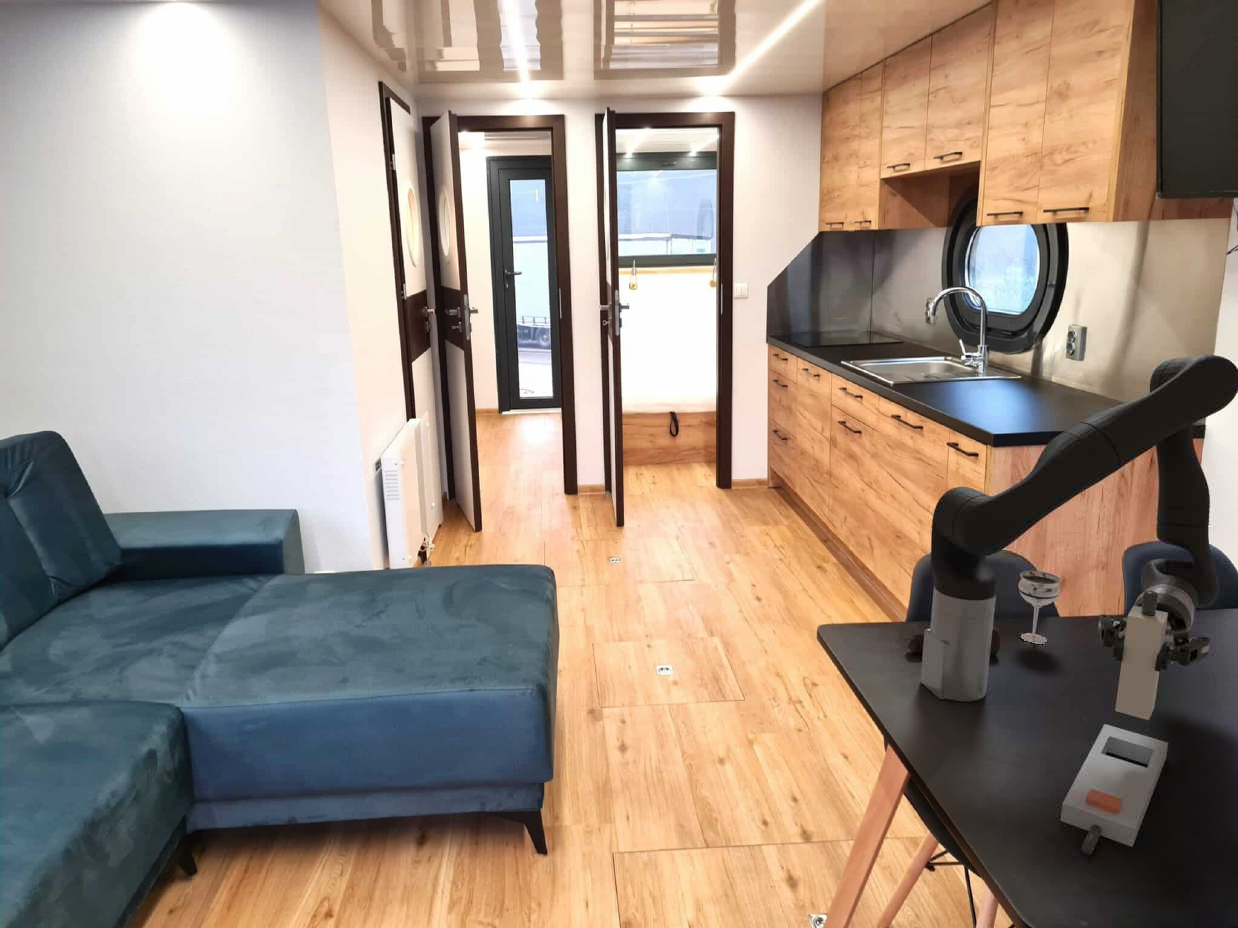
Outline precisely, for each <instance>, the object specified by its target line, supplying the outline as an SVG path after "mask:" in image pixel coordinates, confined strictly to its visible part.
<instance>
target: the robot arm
mask: <svg viewBox="0 0 1238 928" xmlns="http://www.w3.org/2000/svg"><path fill="white" fill-rule="evenodd" d="M1149 381H1150V382H1149V393H1147V394H1146V395H1143V396H1141V397H1139V398H1136V399H1133V400H1131V401H1128V402H1125V403H1122V404H1119V405H1117V406H1114V407H1111V408H1109V409H1106V410H1103V411H1100V412H1098V413H1095V414H1093V415H1091V416H1088V417H1087V418H1085V419H1083V420H1081V421H1079V422H1078V423H1076V424H1074V425H1073V426H1071V427H1069V428H1068V429H1066V430H1065V431H1063V432H1061V433H1060V434H1058V435H1057V436H1055V437H1053V439H1051V440H1050V441H1049V442H1048V443H1047V445H1046V446H1045V447H1044V449H1043V450H1042V451H1041V453H1040V455H1039V457H1038V459H1037V460H1036V462H1035V465H1034V466H1033V468H1032V470H1031V471H1030V472H1029V474H1027V476H1025V477H1024V478H1023V479H1022V480H1020V481H1019V482H1017V483H1015V484H1013V485H1012V486H1011V487H1009V488H1008V489H1005V490H1003V491H1001V492H1000V493H997V494H995V495H992V496H991V495H989V494H986V493H984V492H982V491H980V490H977V489H974V488H972V487H968V486H956V487H952V488H951V489H949V490H946V492H944V493H943V494H942V495H941V497H940V498H939V500H938V501H937V503H936V505H935V508H934V509H933V510H934V511H933V515H932V520H931V521H932V522H931V535H930V536H931V537H930V539H931V540H930V567H931V570H932V573H933V577H934V578H933V579H934V580H933V583H934V584H933V594H932V596H933V597H932V604H931V605H932V607H931V615H930V616H931V617H930V628H926V629H925V630H924V633H923V634H924V646H923V653H922V657H921V658H922V660H921V671H920V672H921V673H920V683H921V684H922V685H924V686H925V688H927V689H928V691H930V692H931V693H932V694H933V695H934V696H935V697H937V698H938V699H939V700H951V701H954V702H956V701H957V702H975V701H979V700H982V699H983V698H984V697H985V696H986V694H987V687H988V676H989V666H990V658H991V657H990V656H991V655H990V648H991V638H992V628H993V625H994V619H995V618H994V615H995V608H996V607H995V606H996V600H997V599H996V598H997V588H998V578H997V575H996V573H995V571H994V570H993V569H992V566H990V564H989V562H988V560H987V558H986V557H988V556H993V555H996V554H997V553H1000V552H1001V551H1003V550H1004V549H1005V548H1007V547H1008V546H1010V545H1012V543H1014V542H1015V541H1016V540H1017V539H1019V538H1020V537H1021V536H1023V535H1025V533H1027V532H1028V531H1029V530H1031V528H1033V527H1034V526H1035V525H1037V524H1038V523H1039V522H1040V521H1042V520H1043V519H1044V518H1046V517H1047V516H1048V515H1050V514H1051V513H1052V512H1054V511H1055V510H1057V509H1058V508H1060V507H1062V506H1063V505H1065V504H1067V503H1068V502H1069V501H1070V500H1073V499H1074V498H1075V497H1076V496H1079V494H1081V493H1083V492H1085V491H1086V490H1087V489H1090V488H1091V487H1094V486H1095V485H1096V484H1098V483H1100V482H1101V481H1103V480H1105V479H1106V478H1108V477H1109V476H1111V475H1113V474H1114V473H1116V472H1118V471H1119V470H1120V469H1123V468H1124V466H1126V465H1127V464H1129V463H1130V462H1132V461H1133V460H1135V459H1137V458H1138V457H1140V456H1141V455H1143V454H1144V453H1146V452H1148V451H1149V450H1151V449H1152V448H1154V447H1155V451H1156V459H1157V460H1156V461H1157V471H1158V473H1157V474H1158V491H1157V492H1158V496H1157V509H1156V511H1157V515H1156V528H1155V529H1156V533H1155V534H1156V538H1157V540H1158V541H1159V542H1161V543H1163V544H1166V545H1170V546H1173V547H1177V548H1181V549H1184V550H1185V551H1186V552H1188V554H1189V555H1190V556H1191V559H1192V561H1189V560H1178V559H1177V560H1176V559H1171V558H1170V559H1169V558H1155V559H1152V560H1149V561H1147V562H1146V563H1145V564H1144V566H1143V567H1142V570H1141V575H1140V585H1141V590H1142V593H1141V594H1140V595H1139V596H1138V597H1137V599H1136V600H1135V602H1134V604H1133V605H1132V607H1131V609H1132V608H1133V606H1139V607H1142V603H1143V595H1144V591H1147V590H1149V591H1154V592H1157V593H1158V599H1157V606H1156V610H1157V611H1162V612H1167V613H1168V617H1167V624H1166V631H1165V637H1164V644H1163V646H1162V648H1161V650H1160V652H1159V654H1158V655H1157V658H1156V665H1155V671H1158V672H1159V673H1162V672H1163V670H1165V671H1166V670H1169V669H1170V667H1171V665H1172V664H1173V663H1174V662H1178V665H1180V666H1183V667H1189V666H1191V665H1192V664H1195V663H1197V662H1199V661H1201V660H1202V659H1205V658H1206V657H1208V654H1209V648H1210V642H1211V641H1210V640H1211V639H1210V637H1207V636H1198V637H1194V636H1193V637H1190V633H1189V631H1191V629H1192V627H1193V622H1194V619H1195V618H1194V617H1195V612H1196V610H1197V608H1207V607H1210V606H1211V605H1213V604H1214V603H1215V602H1216V600H1217V599H1218V596H1219V594H1220V581H1219V578H1218V574H1217V570H1216V567H1215V564H1214V560H1213V557H1212V553H1211V547H1210V539H1209V538H1210V536H1209V532H1210V531H1209V530H1210V527H1209V526H1210V511H1211V510H1210V509H1211V497H1210V489H1209V484H1208V481H1207V478H1206V476H1205V473H1204V470H1203V468H1202V466H1201V463H1200V460H1199V457H1198V455H1197V452H1196V449H1195V443H1194V437H1193V436H1194V433H1193V432H1194V431H1193V429H1194V428H1193V427H1194V424H1195V423H1197V422H1199V421H1202V420H1203V419H1206V418H1208V417H1209V416H1212V415H1214V414H1216V413H1218V412H1220V411H1222V410H1223V409H1225V408H1226V407H1227V406H1228V405H1229V404H1230V403H1232V401H1233V400H1234V399H1235V397H1236V396H1237V394H1238V367H1237V365H1236V364H1235V363H1234V362H1232V361H1231V360H1230V359H1228V358H1226V357H1223V356H1219V355H1214V354H1195V355H1189V356H1181V357H1175V358H1171V359H1167V360H1165V361H1163V362H1162V363H1161V362H1160V364H1159V365H1157V367H1156V368H1155V369H1154V371H1153V372H1152V374H1151V377H1150V380H1149ZM1131 609H1130V610H1129V612H1128V614H1129V613H1130V611H1131ZM1128 614H1127V615H1126V617H1122V618H1121V619H1120V620H1119V621H1117V620H1114V619H1113V618H1110V616H1109V615H1108V614H1105V613H1104V614H1103V613H1102V614H1101V613H1100V614H1099V619H1098V628H1097V633H1098V635H1099V638H1100V641H1101V643H1102V646H1103V647H1105V648H1112V649H1111V657H1113V658H1115V662H1118V663H1122V660H1123V653H1124V641H1125V634H1126V626H1127V619H1128ZM1116 631H1119V632H1118V633H1116Z"/></svg>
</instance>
